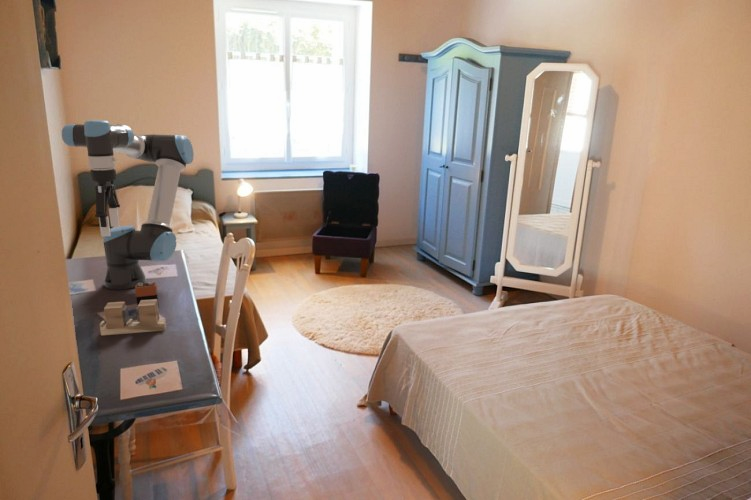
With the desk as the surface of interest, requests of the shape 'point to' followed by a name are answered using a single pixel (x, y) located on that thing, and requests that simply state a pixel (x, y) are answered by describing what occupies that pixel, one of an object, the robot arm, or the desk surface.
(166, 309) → the desk surface
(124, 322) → the cardboard box
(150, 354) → the desk surface
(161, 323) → the rail
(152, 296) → the battery
